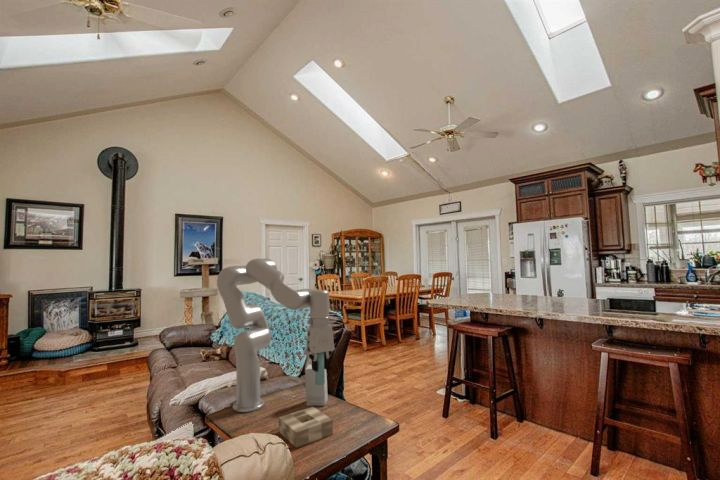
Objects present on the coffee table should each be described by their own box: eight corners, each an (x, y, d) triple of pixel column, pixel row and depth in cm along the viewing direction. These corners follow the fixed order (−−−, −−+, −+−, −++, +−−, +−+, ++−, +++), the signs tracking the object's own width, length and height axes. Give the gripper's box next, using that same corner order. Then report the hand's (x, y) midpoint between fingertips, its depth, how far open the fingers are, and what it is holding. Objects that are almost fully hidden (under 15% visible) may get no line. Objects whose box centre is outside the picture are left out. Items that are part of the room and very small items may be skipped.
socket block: (278, 431, 124) (278, 417, 124) (313, 420, 132) (313, 406, 133) (296, 448, 113) (296, 432, 113) (332, 434, 121) (332, 419, 122)
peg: (313, 383, 135) (313, 351, 135) (321, 380, 137) (321, 350, 138) (318, 385, 132) (318, 353, 133) (326, 383, 134) (326, 352, 135)
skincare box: (328, 400, 151) (327, 363, 152) (325, 406, 145) (324, 368, 145) (309, 399, 152) (308, 363, 153) (305, 406, 145) (304, 368, 146)
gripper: (305, 326, 128) (305, 376, 127) (342, 320, 138) (343, 367, 137) (295, 323, 134) (296, 371, 133) (332, 318, 144) (332, 363, 143)
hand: (319, 369), depth 135 cm, fingers closed on peg, 3 cm apart
